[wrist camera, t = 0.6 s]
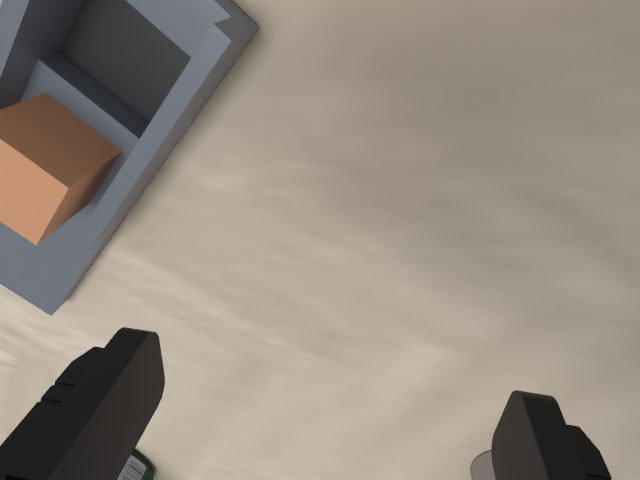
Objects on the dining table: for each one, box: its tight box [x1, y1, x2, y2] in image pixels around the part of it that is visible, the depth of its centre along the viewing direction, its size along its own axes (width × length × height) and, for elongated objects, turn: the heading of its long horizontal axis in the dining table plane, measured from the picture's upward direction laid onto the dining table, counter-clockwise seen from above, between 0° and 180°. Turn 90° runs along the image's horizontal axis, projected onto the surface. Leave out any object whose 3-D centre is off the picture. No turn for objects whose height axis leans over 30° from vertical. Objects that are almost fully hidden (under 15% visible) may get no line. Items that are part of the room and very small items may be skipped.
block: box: [0, 92, 122, 245], centre depth 25 cm, size 5×5×5 cm
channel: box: [0, 0, 259, 316], centre depth 27 cm, size 28×9×4 cm, turn 139°
